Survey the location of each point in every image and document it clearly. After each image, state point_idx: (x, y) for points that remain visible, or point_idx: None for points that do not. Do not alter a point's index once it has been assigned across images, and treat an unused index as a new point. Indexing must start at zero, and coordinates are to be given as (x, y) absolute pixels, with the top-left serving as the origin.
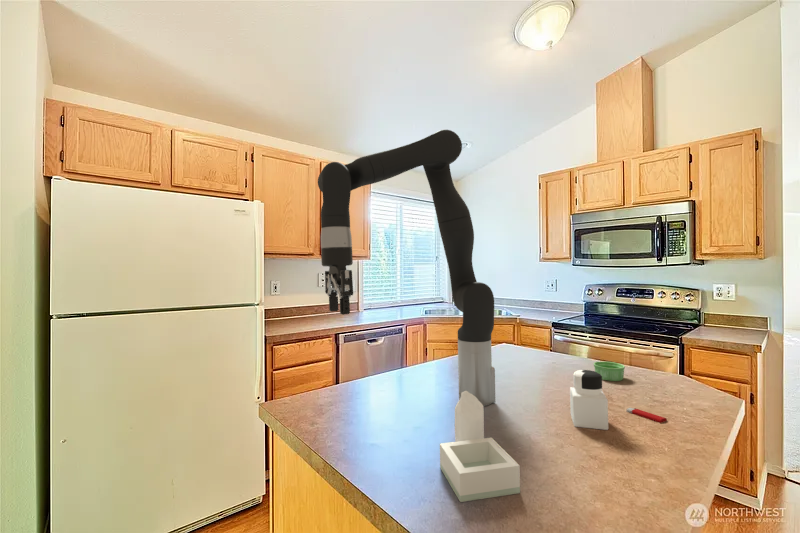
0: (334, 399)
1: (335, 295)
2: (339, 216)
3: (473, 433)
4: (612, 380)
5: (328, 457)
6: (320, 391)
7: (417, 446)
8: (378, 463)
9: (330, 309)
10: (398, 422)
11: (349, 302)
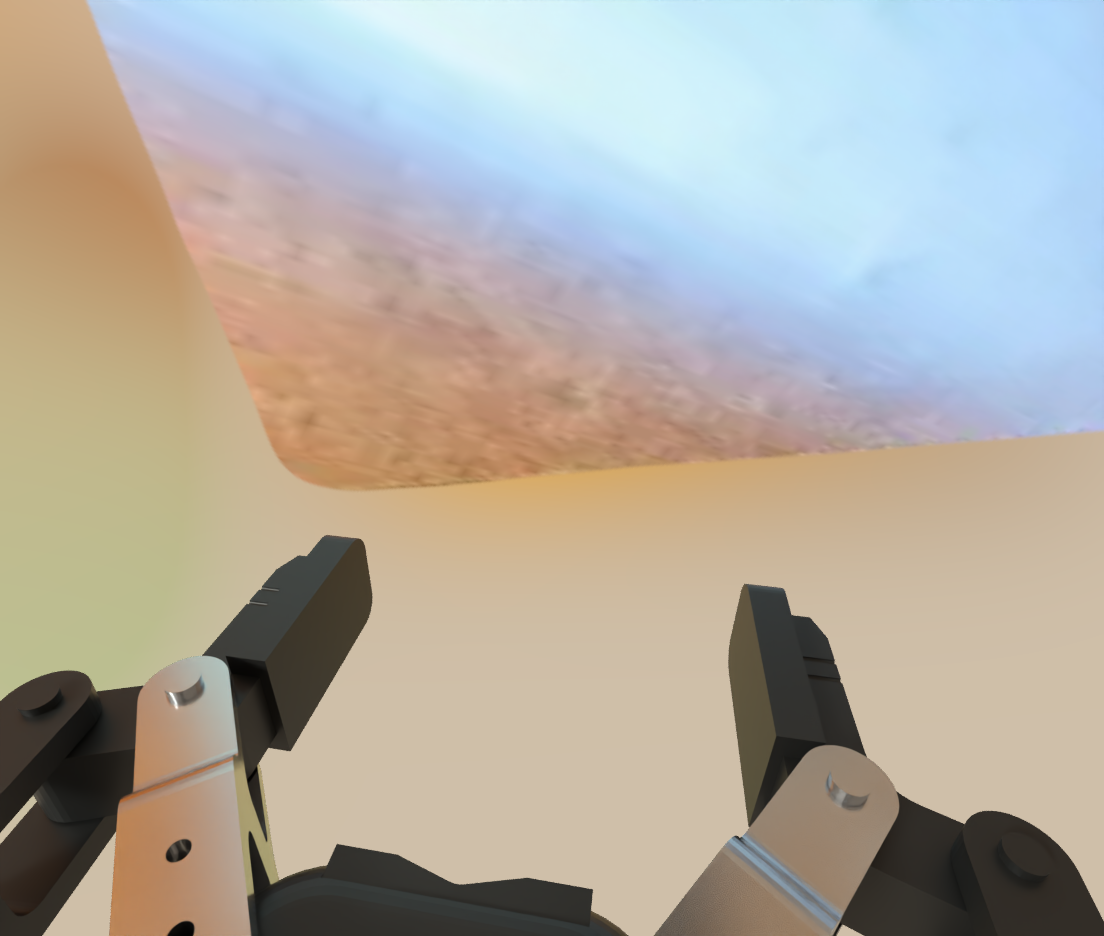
0: (342, 227)
1: (252, 700)
2: None
3: None
4: None
5: (843, 441)
6: (208, 247)
7: (1042, 117)
8: (1011, 325)
9: (365, 623)
10: (777, 61)
11: (808, 685)
